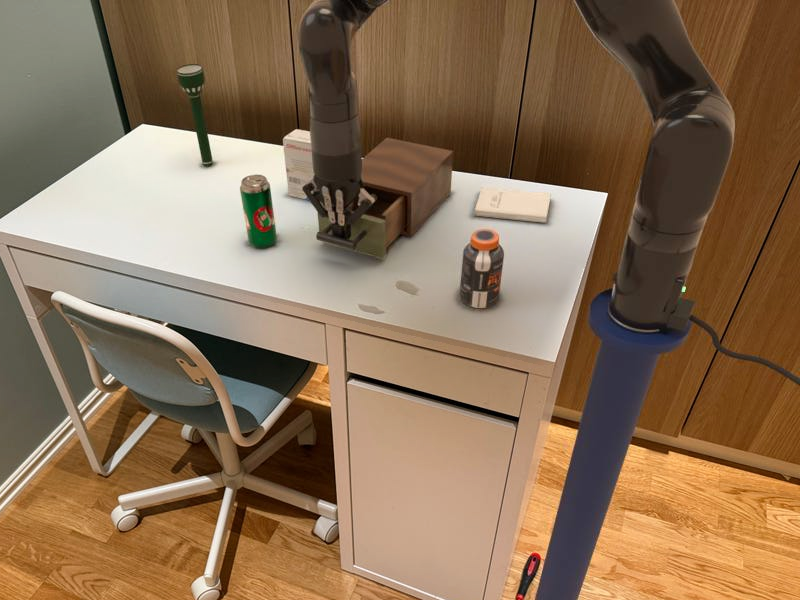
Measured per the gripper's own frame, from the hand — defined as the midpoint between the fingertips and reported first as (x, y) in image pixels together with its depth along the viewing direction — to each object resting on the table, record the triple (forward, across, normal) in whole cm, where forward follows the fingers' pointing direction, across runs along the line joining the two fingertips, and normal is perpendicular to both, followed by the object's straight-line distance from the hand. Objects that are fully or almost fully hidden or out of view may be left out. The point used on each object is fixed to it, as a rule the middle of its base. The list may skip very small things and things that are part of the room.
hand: (341, 240), depth 118 cm
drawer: (+3, 0, -8) cm, 8 cm away
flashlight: (+4, +44, -18) cm, 48 cm away
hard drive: (+4, -19, -28) cm, 34 cm away
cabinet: (+4, 0, -20) cm, 20 cm away
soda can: (+4, +16, +1) cm, 17 cm away
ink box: (+4, +17, -17) cm, 24 cm away
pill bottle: (+4, -24, -1) cm, 24 cm away
